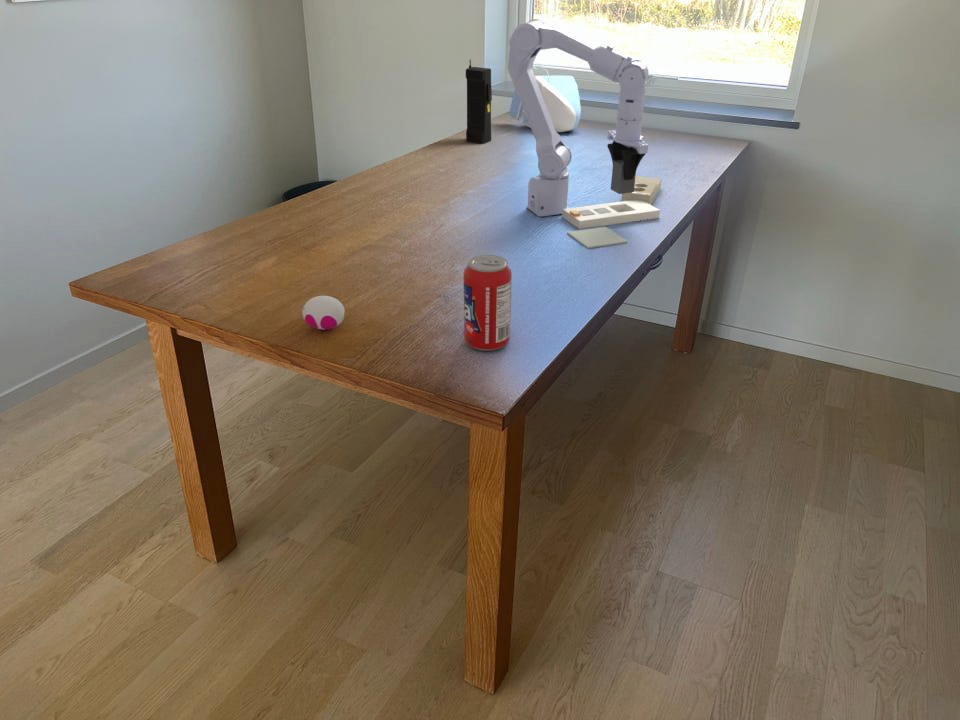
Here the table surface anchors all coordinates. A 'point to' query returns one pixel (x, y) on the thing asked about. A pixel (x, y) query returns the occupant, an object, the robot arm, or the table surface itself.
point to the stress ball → (323, 312)
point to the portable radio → (478, 104)
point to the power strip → (610, 213)
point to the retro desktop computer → (554, 101)
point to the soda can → (487, 302)
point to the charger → (621, 179)
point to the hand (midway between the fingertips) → (623, 176)
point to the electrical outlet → (644, 190)
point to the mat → (596, 237)
